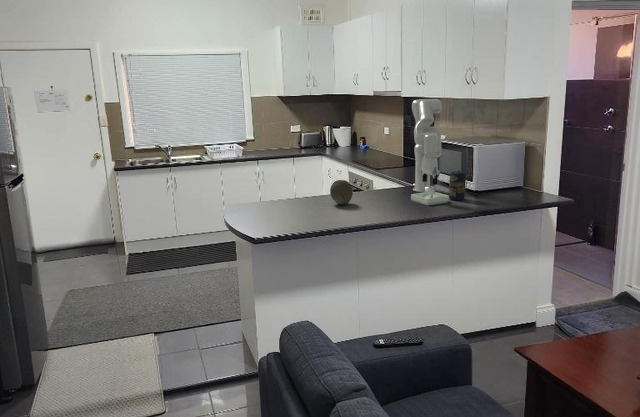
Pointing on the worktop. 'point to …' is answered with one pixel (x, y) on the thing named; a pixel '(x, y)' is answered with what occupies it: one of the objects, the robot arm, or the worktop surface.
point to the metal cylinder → (429, 191)
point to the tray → (429, 199)
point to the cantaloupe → (341, 192)
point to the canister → (457, 185)
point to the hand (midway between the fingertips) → (429, 183)
